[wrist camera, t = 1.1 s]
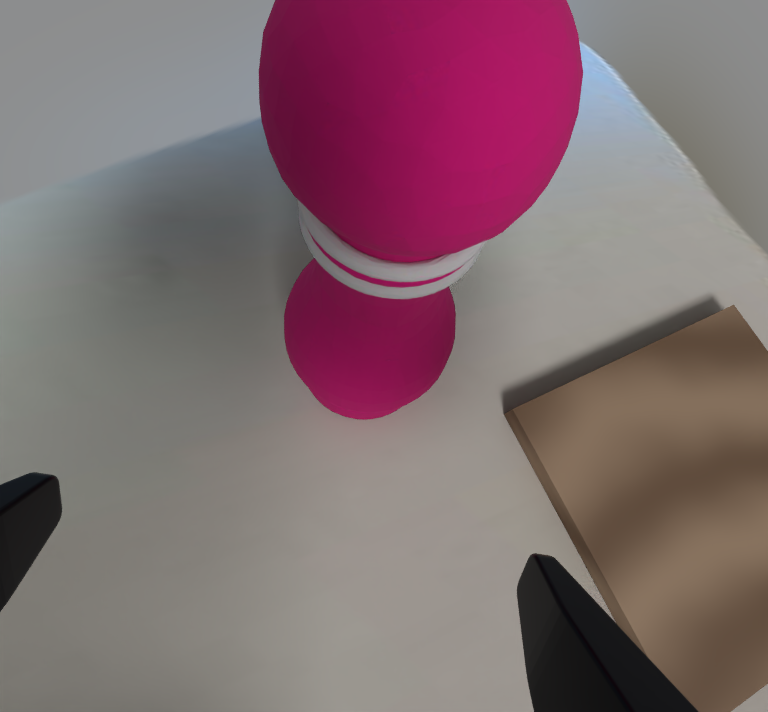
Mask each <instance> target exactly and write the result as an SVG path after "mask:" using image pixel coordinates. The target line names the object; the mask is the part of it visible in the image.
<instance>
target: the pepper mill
mask: <svg viewBox="0 0 768 712" xmlns="http://www.w3.org/2000/svg"><path fill="white" fill-rule="evenodd" d="M582 77H583V68H582V61H581V53H580V45H579V38H578V32H577V29H576V25H575V22H574V18H573V15H572V13H571V10H570V8H569V5H568V3H567V1H566V0H275V2H274V5H273V8H272V10H271V13H270V16H269V18H268V21H267V24H266V26H265V29H264V32H263V40H262V49H261V57H260V66H259V99H260V110H261V118H262V124H263V128H264V131H265V135H266V139H267V143H268V146H269V150H270V152H271V155H272V157H273V159H274V161H275V164H276V166H277V168H278V170H279V173H280V175H281V177H282V179H283V180H284V182H285V183H286V185H287V186H288V188H289V189H290V190H291V192H292V193H293V195H294V196H295V197H296V198H297V203H298V213H299V224H300V228H301V232H302V236H303V238H304V240H305V242H306V245H307V247H308V249H309V251H310V252H311V253H312V255H313V256H314V259H313V260H312V261H311V262H310V263H309V264H308V265H307V266H306V267H305V268H304V269H303V271H302V272H301V274H300V276H299V277H298V279H297V280H296V282H295V284H294V286H293V288H292V290H291V292H290V295H289V298H288V300H287V303H286V309H285V314H284V333H285V343H286V349H287V352H288V355H289V358H290V361H291V363H292V365H293V367H294V369H295V371H296V372H297V374H298V375H299V377H300V378H301V379H302V380H303V382H304V383H305V384H306V385H307V386H308V387H309V389H310V390H311V392H312V393H313V395H314V396H315V397H316V398H317V400H318V401H319V402H320V403H322V404H323V405H324V406H325V407H327V408H328V409H330V410H331V411H333V412H335V413H338V414H340V415H342V416H345V417H350V418H354V419H374V418H378V417H383V416H385V415H388V414H390V413H392V412H394V411H396V410H397V409H399V408H400V407H402V406H404V405H407V404H408V403H410V402H412V401H414V400H415V399H417V398H419V397H420V396H421V395H423V394H424V393H425V392H426V391H427V390H429V389H430V387H431V386H432V385H433V384H434V383H435V382H436V380H437V379H438V378H439V376H440V374H441V373H442V371H443V369H444V367H445V365H446V363H447V361H448V358H449V356H450V353H451V351H452V348H453V343H454V339H455V316H456V314H455V305H454V301H453V297H452V294H451V292H450V289H449V286H450V285H451V284H453V283H454V282H456V281H457V280H459V279H460V278H461V277H462V276H463V275H464V274H465V273H466V272H467V271H468V270H469V269H470V268H471V266H472V265H473V264H474V263H475V261H476V259H477V257H478V255H479V254H480V251H481V249H482V247H483V246H484V244H485V243H486V241H487V240H489V239H491V238H493V237H495V236H497V235H498V234H500V233H502V232H503V231H504V230H505V229H506V228H508V227H509V226H510V225H511V224H512V223H513V222H514V221H515V220H517V219H518V218H519V217H520V216H521V215H522V214H523V213H524V212H526V211H527V210H528V209H529V208H530V207H531V206H532V205H533V204H534V202H535V201H536V200H537V198H538V197H539V196H540V195H541V193H542V192H543V191H544V189H545V188H546V187H547V186H548V184H549V182H550V180H551V179H552V177H553V175H554V173H555V171H556V170H557V168H558V166H559V164H560V162H561V160H562V158H563V156H564V153H565V151H566V149H567V147H568V144H569V141H570V138H571V134H572V131H573V128H574V125H575V121H576V118H577V115H578V110H579V102H580V94H581V86H582Z"/></svg>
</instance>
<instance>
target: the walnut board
mask: <svg viewBox="0 0 768 712" xmlns="http://www.w3.org/2000/svg"><path fill="white" fill-rule="evenodd" d="M504 415H505V417H506V419H507V421H508V423H509V425H510V426H511V428H512V430H513V432H514V434H515V436H516V437H517V439H518V441H519V443H520V445H521V447H522V449H523V450H524V452H525V454H526V456H527V458H528V460H529V462H530V463H531V465H532V467H533V469H534V471H535V473H536V475H537V476H538V478H539V480H540V482H541V484H542V486H543V488H544V489H545V491H546V493H547V495H548V497H549V499H550V501H551V502H552V504H553V506H554V508H555V510H556V512H557V514H558V515H559V517H560V519H561V521H562V523H563V525H564V527H565V528H566V530H567V532H568V534H569V536H570V538H571V540H572V541H573V543H574V545H575V547H576V549H577V551H578V553H579V554H580V556H581V558H582V560H583V562H584V564H585V566H586V567H587V569H588V571H589V573H590V575H591V577H592V578H593V580H594V582H595V584H596V586H597V588H598V590H599V591H600V593H601V595H602V597H603V599H604V601H605V603H606V604H607V606H608V608H609V610H610V612H611V614H612V616H613V617H614V619H615V621H616V623H617V625H618V626H619V627H620V628H621V629H622V630H623V631H624V632H625V633H626V634H627V635H628V637H629V638H630V639H631V640H632V641H633V642H634V643H635V644H636V645H637V646H638V647H639V648H640V649H641V650H642V651H643V653H644V654H645V655H646V656H647V657H648V658H649V659H650V660H651V661H652V662H653V663H654V664H655V665H656V666H657V667H658V669H659V670H660V671H661V672H662V673H663V674H664V675H665V676H666V677H667V678H668V679H669V680H670V681H671V682H672V683H673V685H674V686H675V687H676V688H677V689H678V690H679V691H680V692H681V693H682V694H683V695H684V696H685V697H686V698H687V699H688V701H689V702H690V703H691V704H692V705H693V706H694V707H695V708H696V709H697V710H698V711H699V712H731V711H732V710H733V709H735V708H736V707H737V706H739V705H740V704H741V703H743V702H744V701H745V700H747V699H748V698H749V697H751V696H752V695H753V694H755V693H756V692H757V691H758V690H760V689H761V688H762V687H764V686H765V685H766V684H768V351H767V350H766V348H765V347H764V345H763V344H762V343H761V341H760V340H759V339H758V337H757V336H756V334H755V333H754V332H753V330H752V329H751V328H750V326H749V325H748V323H747V322H746V321H745V319H744V318H743V317H742V315H741V314H740V312H739V311H738V310H737V308H736V307H735V306H734V305H732V306H730V307H728V308H726V309H724V310H722V311H719V312H717V313H715V314H713V315H711V316H709V317H707V318H705V319H703V320H700V321H698V322H696V323H694V324H692V325H690V326H688V327H686V328H683V329H681V330H679V331H677V332H675V333H673V334H671V335H669V336H666V337H664V338H662V339H660V340H658V341H656V342H654V343H652V344H650V345H647V346H645V347H643V348H641V349H639V350H637V351H635V352H633V353H630V354H628V355H626V356H624V357H622V358H620V359H618V360H616V361H613V362H611V363H609V364H607V365H605V366H603V367H601V368H599V369H597V370H594V371H592V372H590V373H588V374H586V375H584V376H582V377H580V378H577V379H575V380H573V381H571V382H569V383H567V384H565V385H563V386H560V387H558V388H556V389H554V390H552V391H550V392H548V393H546V394H544V395H541V396H539V397H537V398H535V399H533V400H531V401H529V402H527V403H524V404H522V405H520V406H518V407H516V408H514V409H512V410H510V411H508V412H507V413H505V414H504Z"/></svg>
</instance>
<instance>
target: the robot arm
mask: <svg viewBox="0 0 768 712" xmlns="http://www.w3.org/2000/svg"><path fill="white" fill-rule="evenodd" d="M61 514H62V504H61V495H60V487H59V480H58V479H57V477H56V476H54V475H49V474H43V473H37V472H33V473H29V474H26V475H23V476H21V477H18V478H16V479H13V480H11V481H9V482H6V483H4V484H1V485H0V612H1V610H2V609H3V607H4V606H5V605H6V603H7V602H8V601H9V599H10V598H11V596H12V595H13V593H14V592H15V590H16V589H17V587H18V585H19V584H20V582H21V581H22V579H23V578H24V576H25V574H26V573H27V571H28V570H29V568H30V567H31V565H32V564H33V562H34V560H35V559H36V557H37V556H38V554H39V553H40V551H41V549H42V548H43V546H44V545H45V543H46V542H47V540H48V538H49V537H50V535H51V534H52V532H53V531H54V529H55V527H56V526H57V524H58V522H59V520H60V518H61ZM517 599H518V607H519V616H520V624H521V632H522V641H523V649H524V657H525V666H526V673H527V680H528V685H529V690H530V695H531V699H532V704H533V708H534V712H699V711H698V710H697V709H696V708H695V707H694V706H693V705H692V704H691V703H690V702H689V701H688V699H687V698H686V697H685V696H684V695H683V694H682V693H681V692H680V691H679V690H678V689H677V688H676V687H675V686H674V685H673V683H672V682H671V681H670V680H669V679H668V678H667V677H666V676H665V675H664V674H663V673H662V672H661V671H660V670H659V669H658V667H657V666H656V665H655V664H654V663H653V662H652V661H651V660H650V659H649V658H648V657H647V656H646V655H645V654H644V653H643V651H642V650H641V649H640V648H639V647H638V646H637V645H636V644H635V643H634V642H633V641H632V640H631V639H630V638H629V637H628V635H627V634H626V633H625V632H624V631H623V630H622V629H621V628H620V627H619V626H618V625H617V624H616V623H615V622H614V621H613V619H612V618H611V617H610V616H609V615H608V614H607V613H606V612H605V611H604V610H603V609H602V608H601V607H600V606H599V605H598V604H597V602H596V601H595V600H594V599H593V598H592V597H591V596H590V595H589V594H588V593H587V592H586V591H585V590H584V589H583V588H582V586H581V585H580V584H579V583H578V582H577V581H576V580H575V579H574V578H573V577H572V576H571V575H570V574H569V573H568V572H567V570H566V569H565V568H564V567H563V566H562V565H561V564H560V563H559V562H558V561H557V560H556V559H555V558H554V557H552V556H548V555H542V554H536V553H535V554H532V555H530V557H529V558H528V561H527V563H526V565H525V568H524V570H523V572H522V575H521V577H520V579H519V582H518V586H517Z"/></svg>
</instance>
